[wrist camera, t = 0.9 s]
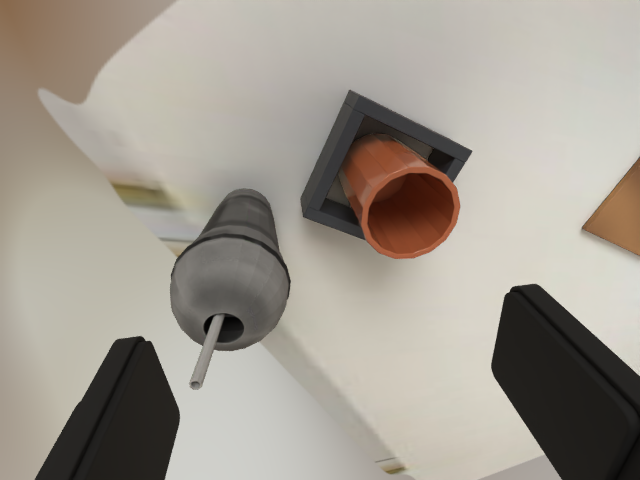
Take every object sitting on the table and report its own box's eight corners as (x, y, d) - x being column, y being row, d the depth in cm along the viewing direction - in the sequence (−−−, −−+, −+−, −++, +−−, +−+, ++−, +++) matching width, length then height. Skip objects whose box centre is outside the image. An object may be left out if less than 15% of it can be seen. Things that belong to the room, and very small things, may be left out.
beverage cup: (226, 258, 35) (174, 474, 17) (189, 190, 31) (74, 374, 14) (298, 232, 34) (320, 427, 17) (267, 160, 31) (254, 312, 13)
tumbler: (359, 120, 30) (393, 150, 21) (423, 150, 32) (479, 189, 23) (326, 188, 32) (344, 240, 24) (387, 213, 34) (425, 270, 25)
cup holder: (349, 89, 29) (359, 95, 25) (451, 139, 32) (472, 151, 28) (300, 199, 33) (302, 217, 29) (394, 235, 35) (407, 255, 32)
